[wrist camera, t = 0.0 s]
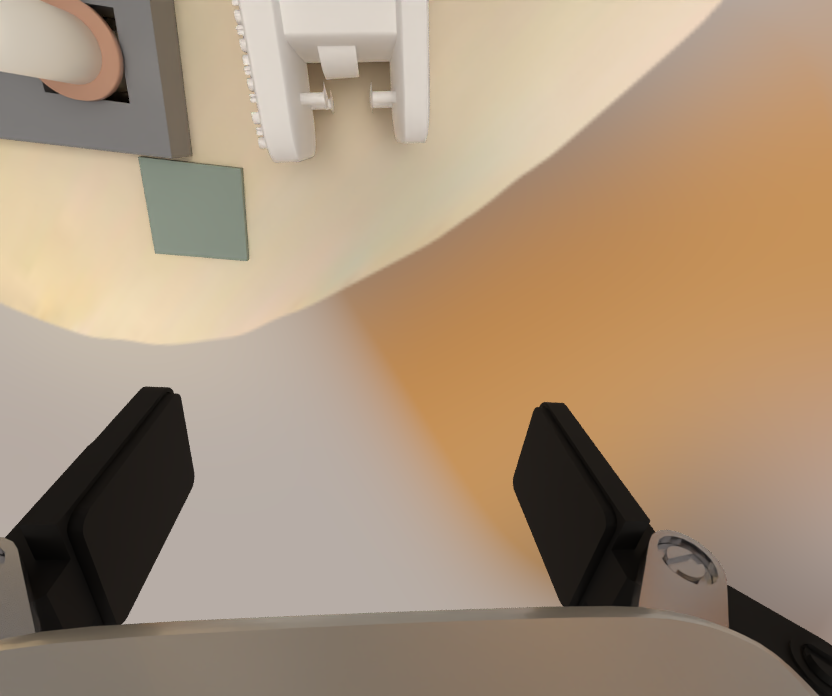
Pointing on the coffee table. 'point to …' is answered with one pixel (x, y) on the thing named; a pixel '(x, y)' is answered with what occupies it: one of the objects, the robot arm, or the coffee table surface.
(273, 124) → the cable organizer
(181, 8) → the coffee table surface
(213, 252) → the mat
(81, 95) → the plug
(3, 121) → the grey block with hole
